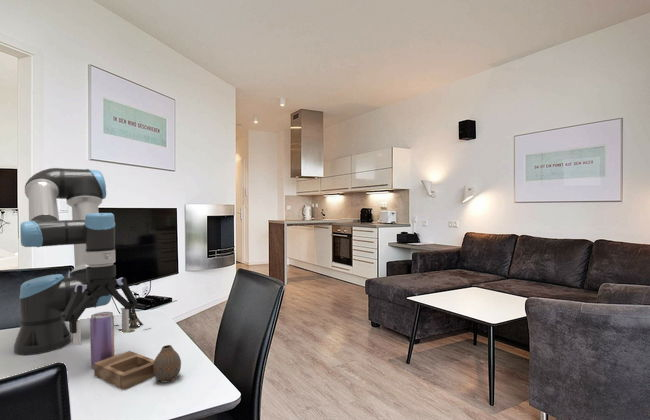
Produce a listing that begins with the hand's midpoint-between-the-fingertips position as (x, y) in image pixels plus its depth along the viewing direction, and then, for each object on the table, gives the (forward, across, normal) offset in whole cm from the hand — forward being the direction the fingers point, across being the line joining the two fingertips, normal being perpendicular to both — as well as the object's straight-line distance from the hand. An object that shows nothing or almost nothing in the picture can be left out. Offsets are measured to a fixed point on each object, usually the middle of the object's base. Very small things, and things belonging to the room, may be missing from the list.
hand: (102, 336), depth 108 cm
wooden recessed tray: (+9, 0, -12) cm, 15 cm away
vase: (+9, +5, -24) cm, 26 cm away
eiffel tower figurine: (+9, +24, +27) cm, 37 cm away
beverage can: (+9, 0, 0) cm, 9 cm away
